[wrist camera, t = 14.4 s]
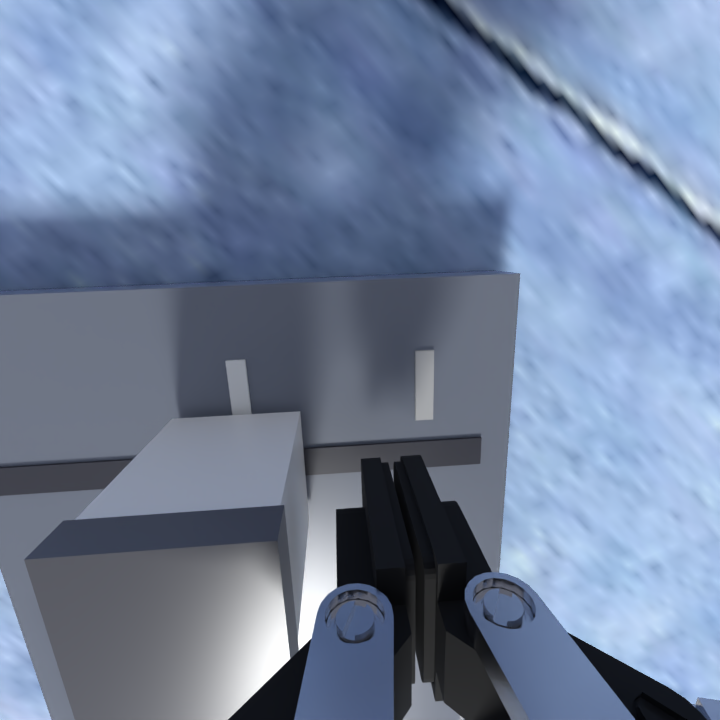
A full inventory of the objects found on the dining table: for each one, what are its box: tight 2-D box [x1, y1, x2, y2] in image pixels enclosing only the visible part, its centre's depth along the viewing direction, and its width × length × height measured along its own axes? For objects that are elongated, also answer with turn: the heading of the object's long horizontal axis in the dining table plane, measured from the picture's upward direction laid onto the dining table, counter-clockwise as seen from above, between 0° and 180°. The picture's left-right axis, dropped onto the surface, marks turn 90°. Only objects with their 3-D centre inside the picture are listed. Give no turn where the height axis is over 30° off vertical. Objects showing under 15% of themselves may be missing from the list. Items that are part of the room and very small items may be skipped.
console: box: [0, 271, 520, 720], centre depth 16 cm, size 18×26×2 cm
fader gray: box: [24, 411, 309, 720], centre depth 10 cm, size 4×4×6 cm
